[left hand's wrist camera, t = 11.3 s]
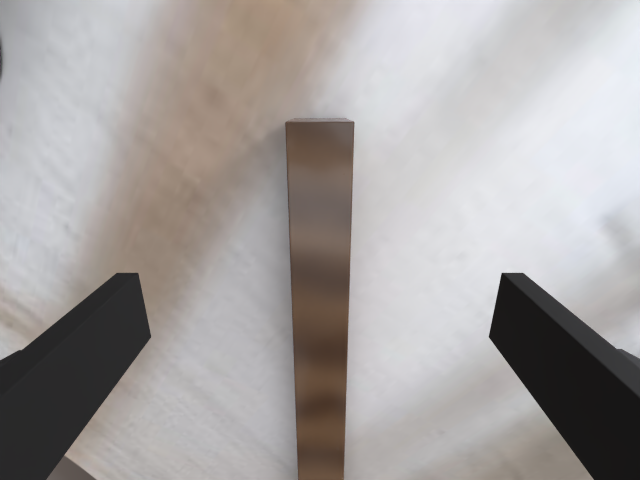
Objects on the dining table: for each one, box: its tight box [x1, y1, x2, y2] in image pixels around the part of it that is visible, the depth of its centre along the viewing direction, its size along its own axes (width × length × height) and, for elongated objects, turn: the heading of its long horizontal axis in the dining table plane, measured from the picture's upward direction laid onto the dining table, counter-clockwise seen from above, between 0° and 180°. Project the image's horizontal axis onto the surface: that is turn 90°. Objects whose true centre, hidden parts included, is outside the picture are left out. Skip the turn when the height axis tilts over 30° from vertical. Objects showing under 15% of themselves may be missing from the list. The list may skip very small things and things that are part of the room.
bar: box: [285, 118, 354, 480], centre depth 41 cm, size 66×5×8 cm, turn 0°
